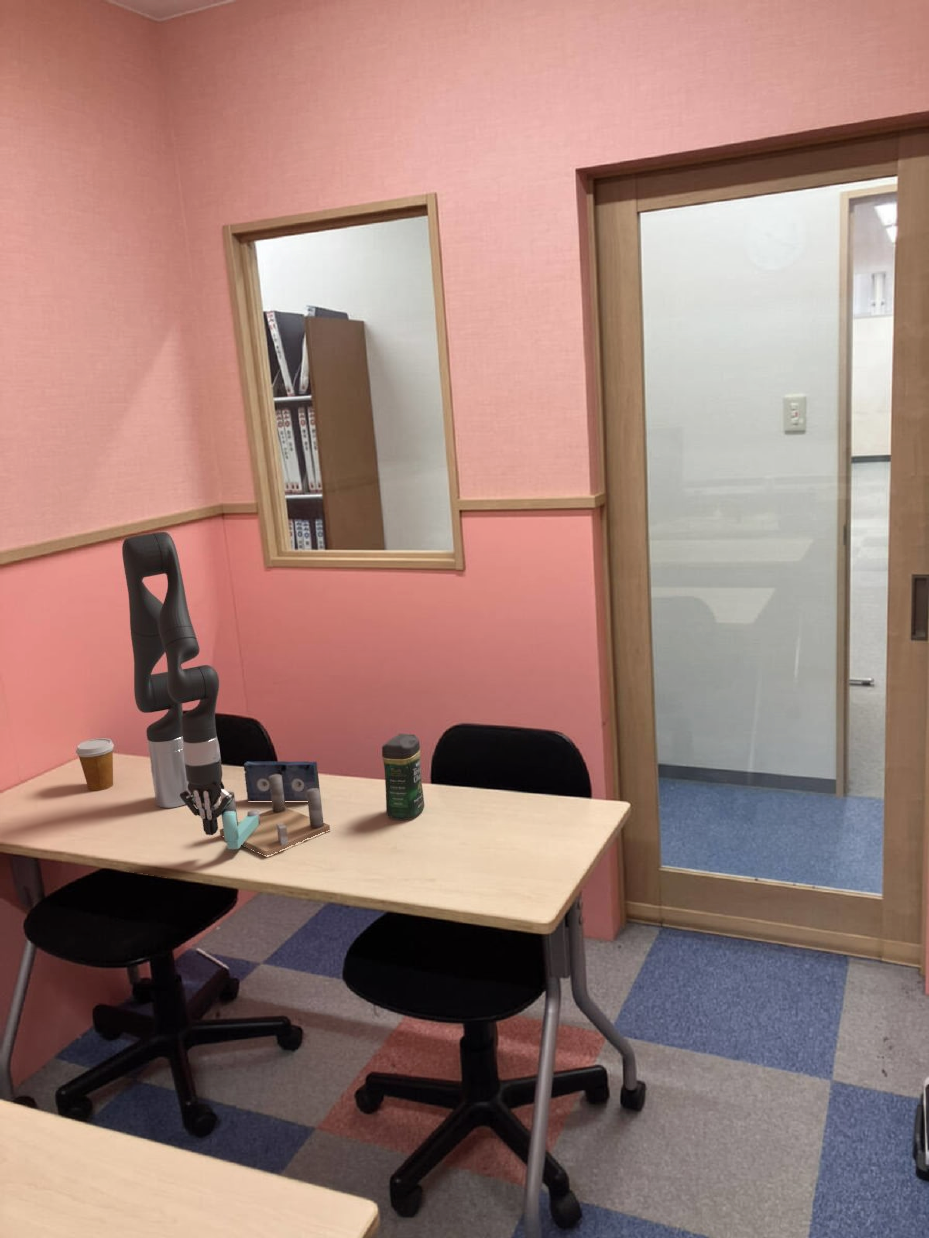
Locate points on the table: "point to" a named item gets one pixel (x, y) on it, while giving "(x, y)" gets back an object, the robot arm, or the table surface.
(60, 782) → the table surface
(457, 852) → the table surface
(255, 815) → the hinged leg
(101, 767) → the disposable coffee cup
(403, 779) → the coffee jar
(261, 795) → the vhs cassette tape
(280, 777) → the stool seat
